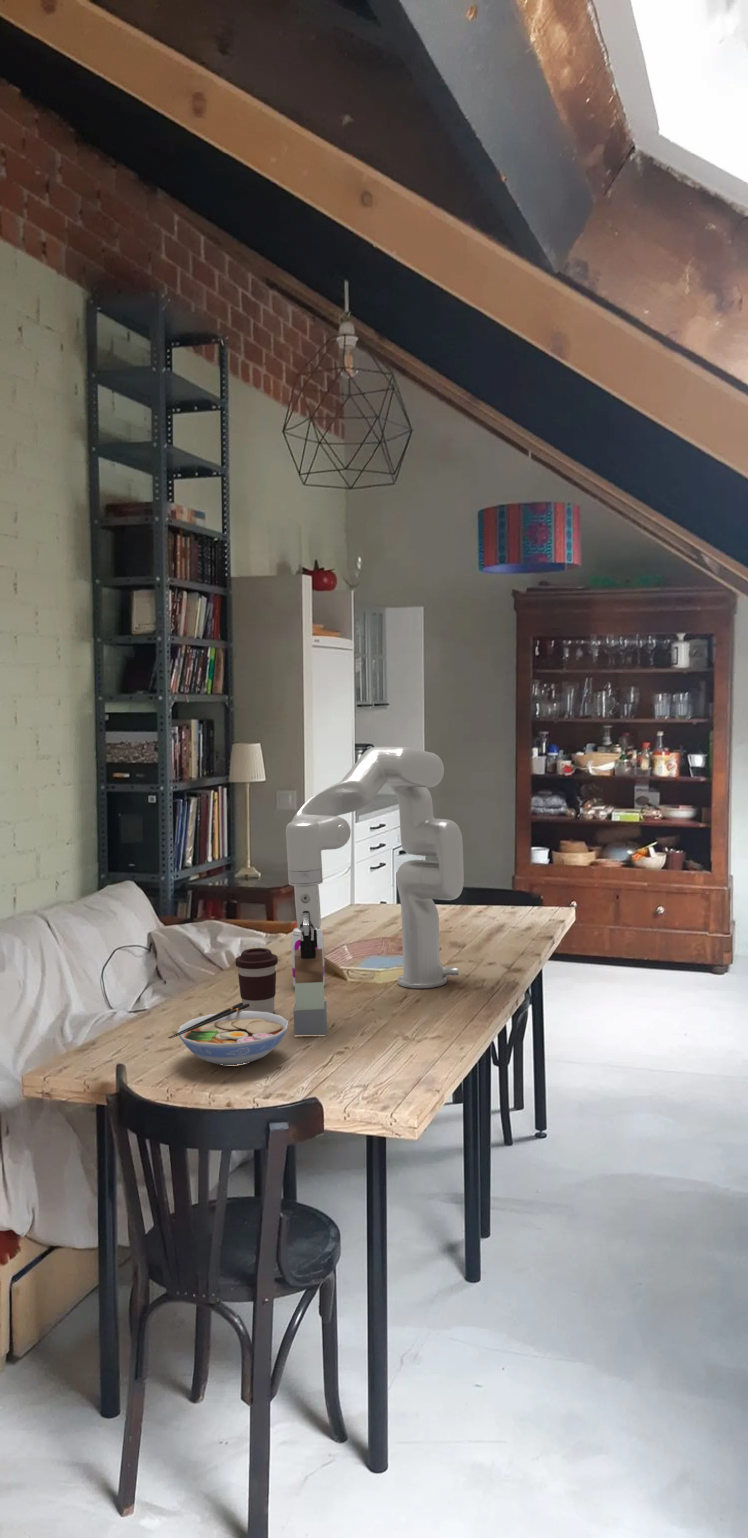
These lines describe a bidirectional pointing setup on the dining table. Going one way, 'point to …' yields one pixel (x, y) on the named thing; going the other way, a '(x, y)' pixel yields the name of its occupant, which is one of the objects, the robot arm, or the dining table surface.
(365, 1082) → the dining table surface
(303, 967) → the walnut cube
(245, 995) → the coffee cup
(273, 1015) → the ramen bowl
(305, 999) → the tower mid
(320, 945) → the supplement can
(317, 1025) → the tower base
